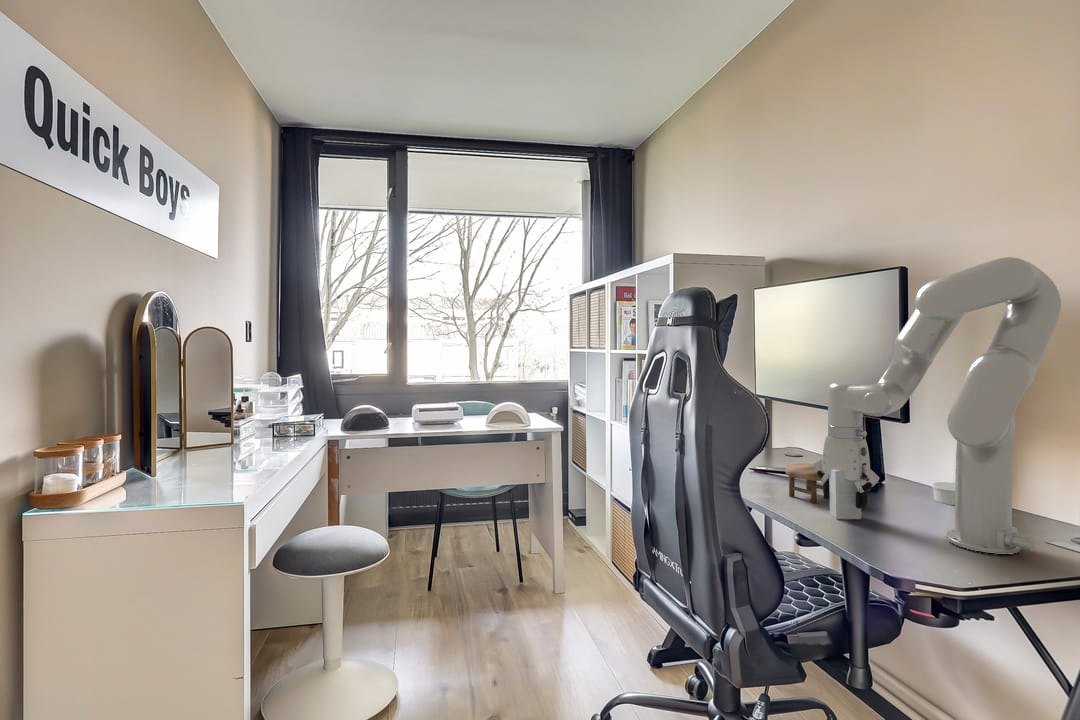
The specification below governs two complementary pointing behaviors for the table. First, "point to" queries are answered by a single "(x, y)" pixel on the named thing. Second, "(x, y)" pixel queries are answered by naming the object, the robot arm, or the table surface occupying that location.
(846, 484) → the skincare box
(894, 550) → the table surface
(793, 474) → the walnut stool
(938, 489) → the ramekin
